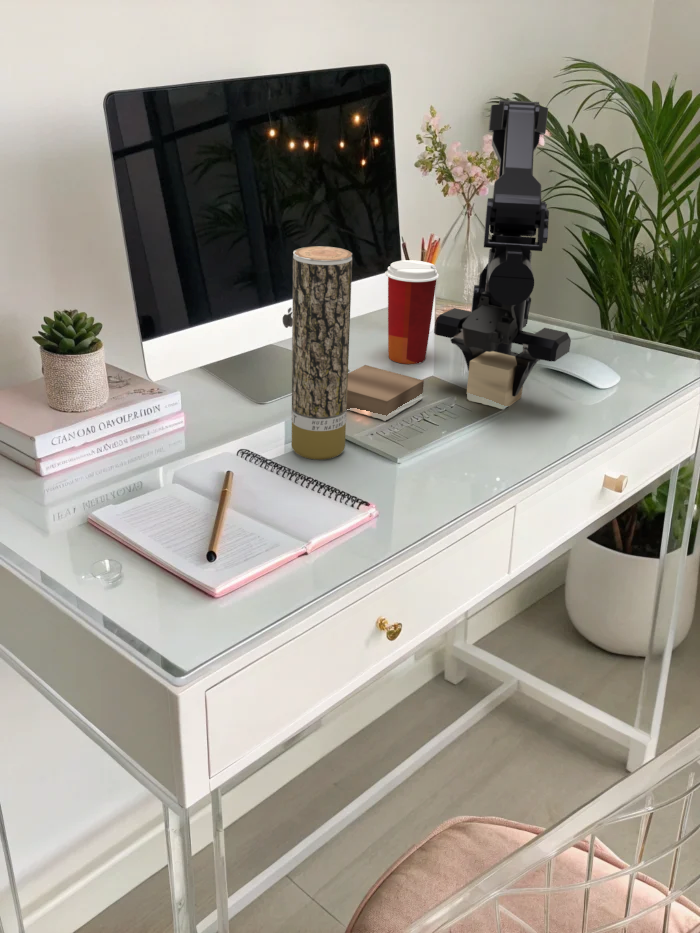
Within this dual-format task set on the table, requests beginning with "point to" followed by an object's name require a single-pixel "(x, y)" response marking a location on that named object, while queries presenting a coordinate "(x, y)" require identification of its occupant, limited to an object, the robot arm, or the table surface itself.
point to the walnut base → (380, 390)
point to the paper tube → (320, 350)
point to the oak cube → (493, 377)
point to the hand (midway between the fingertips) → (494, 390)
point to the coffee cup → (410, 309)
